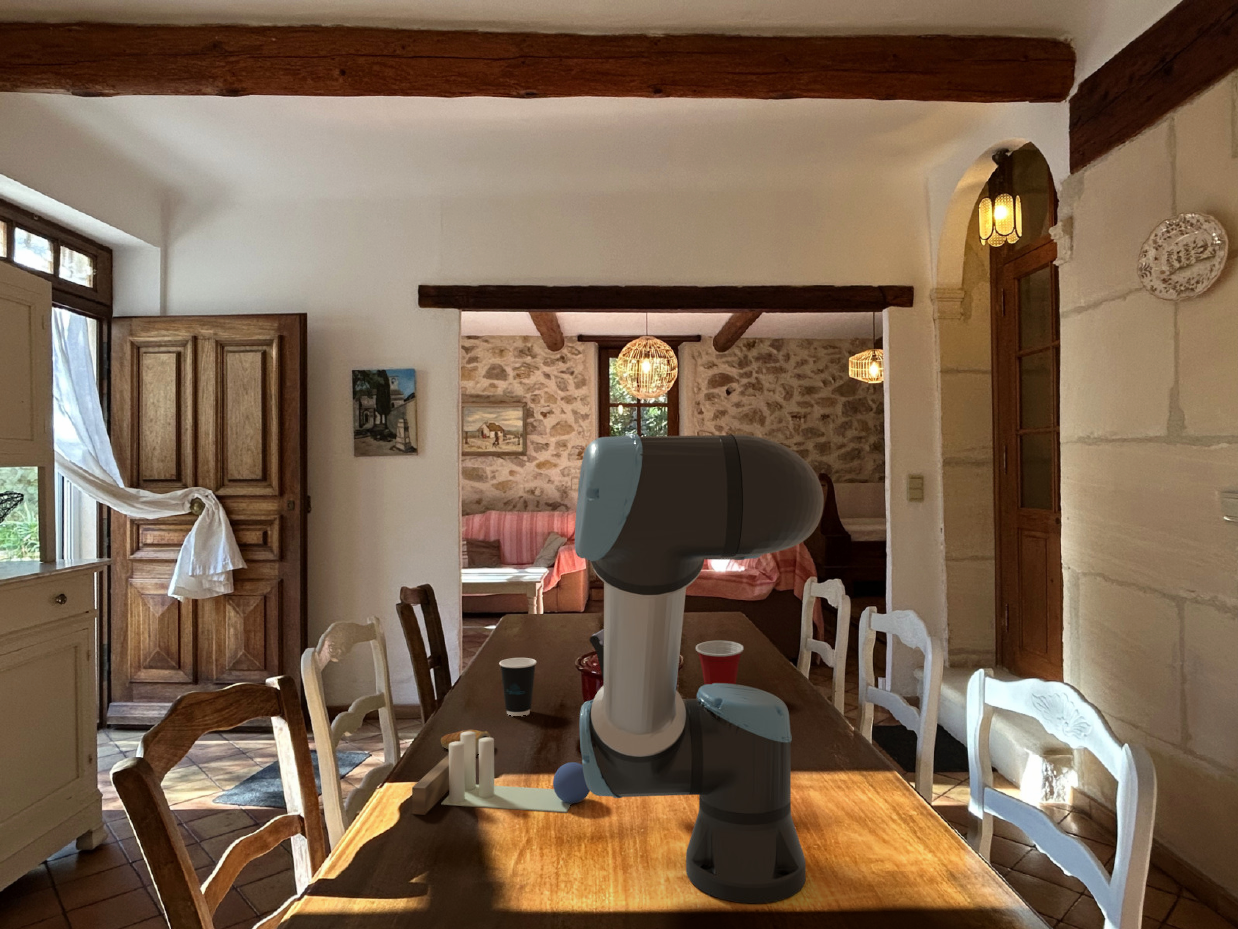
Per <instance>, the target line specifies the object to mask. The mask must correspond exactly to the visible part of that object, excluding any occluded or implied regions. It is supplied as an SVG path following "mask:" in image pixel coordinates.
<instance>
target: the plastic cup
mask: <svg viewBox="0 0 1238 929" xmlns="http://www.w3.org/2000/svg"><path fill="white" fill-rule="evenodd" d="M696 651H697V652H696ZM743 651H744V645H743V644H741V643H739V642H736V641H731V640H730V641H729V640H709V641H705V642H704V641H703V642H701V643H698V644H697V645H695V652H696V653H697V654H698V657H699V662H700V666H701V672H702V678H703V685H706V684H711V685H712V684H713V683H726V684H736V685H737V679H738V671H739V665H740V664H739V663H740V660H741V659H740V658H741V655H742V652H743Z"/></svg>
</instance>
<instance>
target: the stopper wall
mask: <svg viewBox="0 0 1238 929" xmlns="http://www.w3.org/2000/svg"><path fill="white" fill-rule="evenodd" d="M448 791H449V753H448V754H447V755H445V757H443V759H442V760H440V761H439V762H438V763H437V764H436V765H435V766H434V767H432V769H430V770H429V771H428V772H427V773H426V774H425V775H424V776H423V777H422V778H421V779H420V780H419V781H417V782H416V783H415V784H414V785H413V786H412V787H411V794H412V795H411V797H412V798H411V802H412V804H411V805H412V806H411V807H412V809H411V811H412V813H411V814H412V815H420V816H421V815H422V816H425V815H426V814H427V813H428V812H430V810H431V809H432V808H433V807H434V806H435V805H436V804H438V802H439V801H440V800H441V799H442V798H443V796H445V795H446V793H447V792H448Z"/></svg>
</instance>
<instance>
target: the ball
mask: <svg viewBox="0 0 1238 929" xmlns="http://www.w3.org/2000/svg"><path fill="white" fill-rule="evenodd" d="M552 785H553V786H552V787H553V789H554V791H555V793H556V795H557V796H558V797H559V798H560V799H561V800H562V801H564V802H566V803H572V804H578V803H580V802H582V801H583V800H585V799H586V798H587V797H588V795H589V793H591V791H590V790H589V789H588V787H587V784H586V781H585V777H584V772H583V765H582V764H581V763H579V762H574V761H573V762H572V761H571V762H567V763H564V764H563V765H561V766H560V767H558V769H557V771H555V773H554V776H553V782H552Z"/></svg>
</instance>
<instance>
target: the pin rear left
mask: <svg viewBox="0 0 1238 929" xmlns="http://www.w3.org/2000/svg"><path fill="white" fill-rule="evenodd" d="M466 731H467V730H466ZM460 741H461V742H464V751H465V791H469V790H473V789H475V788H476V784H477V782H476V780H477V779H476V778H477V776H476V773H477V770H476V768H477V767H476V765H477V764H476V763H477V761H476V759H477V758H476V757H477V755H476V746H475V732H472V731H467V732H462V733H461V734H460Z"/></svg>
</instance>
